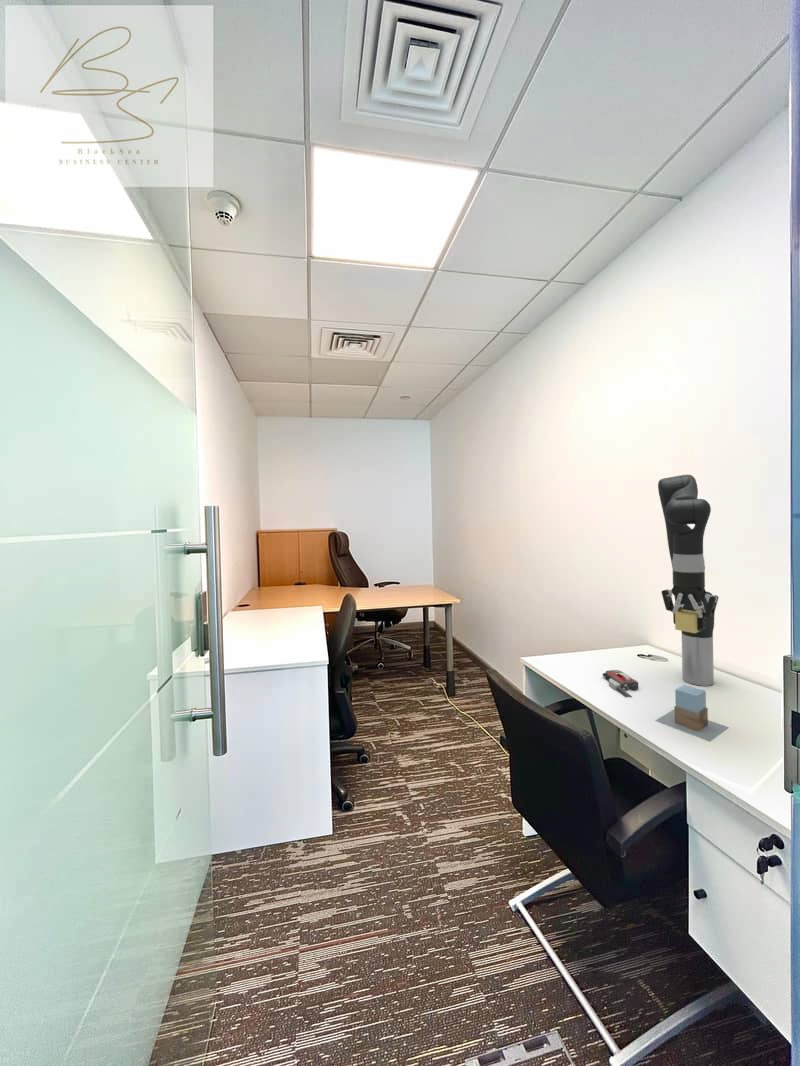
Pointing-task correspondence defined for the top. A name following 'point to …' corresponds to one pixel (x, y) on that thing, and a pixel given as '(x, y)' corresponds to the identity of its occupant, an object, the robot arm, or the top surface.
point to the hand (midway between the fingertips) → (689, 627)
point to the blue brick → (690, 698)
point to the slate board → (706, 733)
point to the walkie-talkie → (620, 681)
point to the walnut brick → (691, 718)
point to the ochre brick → (686, 621)
